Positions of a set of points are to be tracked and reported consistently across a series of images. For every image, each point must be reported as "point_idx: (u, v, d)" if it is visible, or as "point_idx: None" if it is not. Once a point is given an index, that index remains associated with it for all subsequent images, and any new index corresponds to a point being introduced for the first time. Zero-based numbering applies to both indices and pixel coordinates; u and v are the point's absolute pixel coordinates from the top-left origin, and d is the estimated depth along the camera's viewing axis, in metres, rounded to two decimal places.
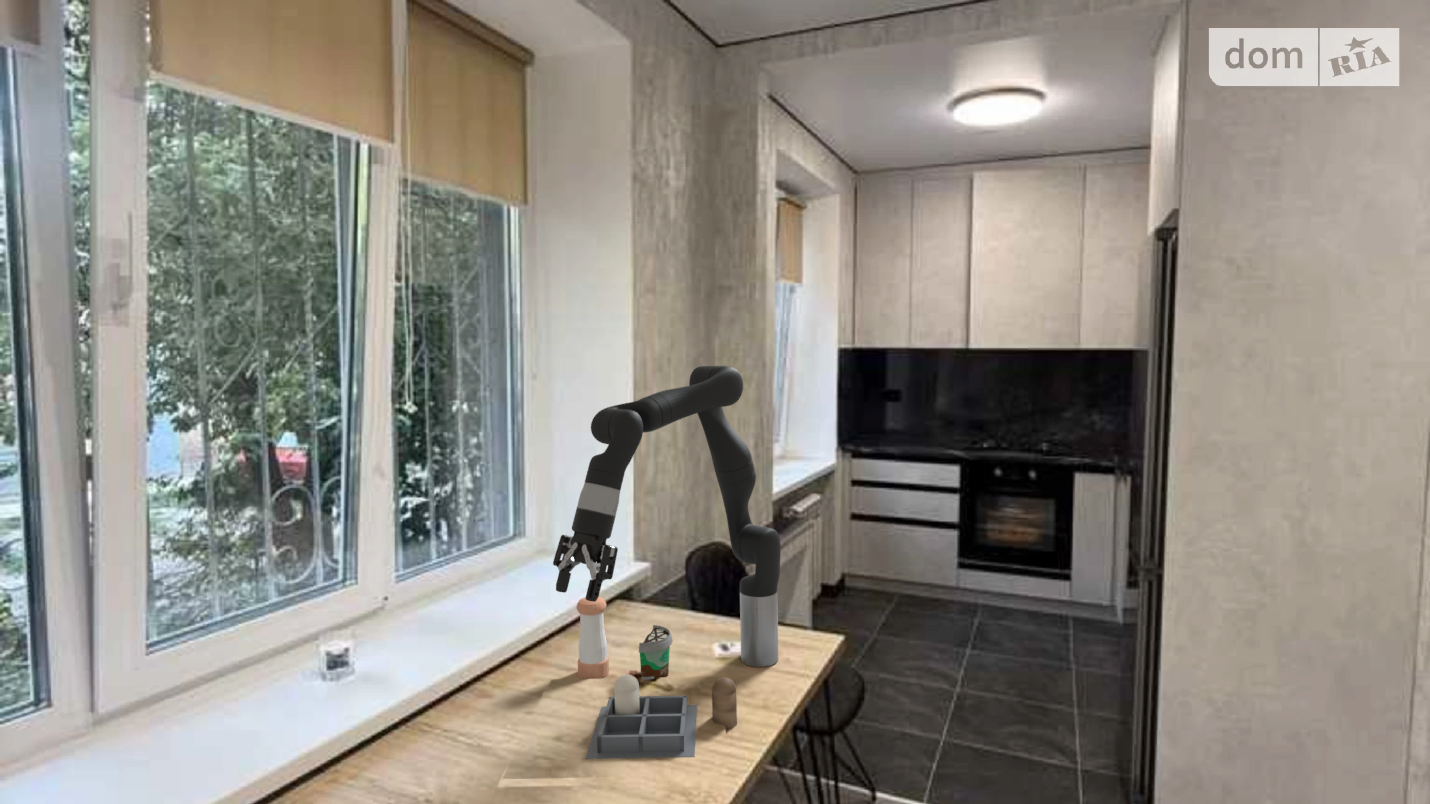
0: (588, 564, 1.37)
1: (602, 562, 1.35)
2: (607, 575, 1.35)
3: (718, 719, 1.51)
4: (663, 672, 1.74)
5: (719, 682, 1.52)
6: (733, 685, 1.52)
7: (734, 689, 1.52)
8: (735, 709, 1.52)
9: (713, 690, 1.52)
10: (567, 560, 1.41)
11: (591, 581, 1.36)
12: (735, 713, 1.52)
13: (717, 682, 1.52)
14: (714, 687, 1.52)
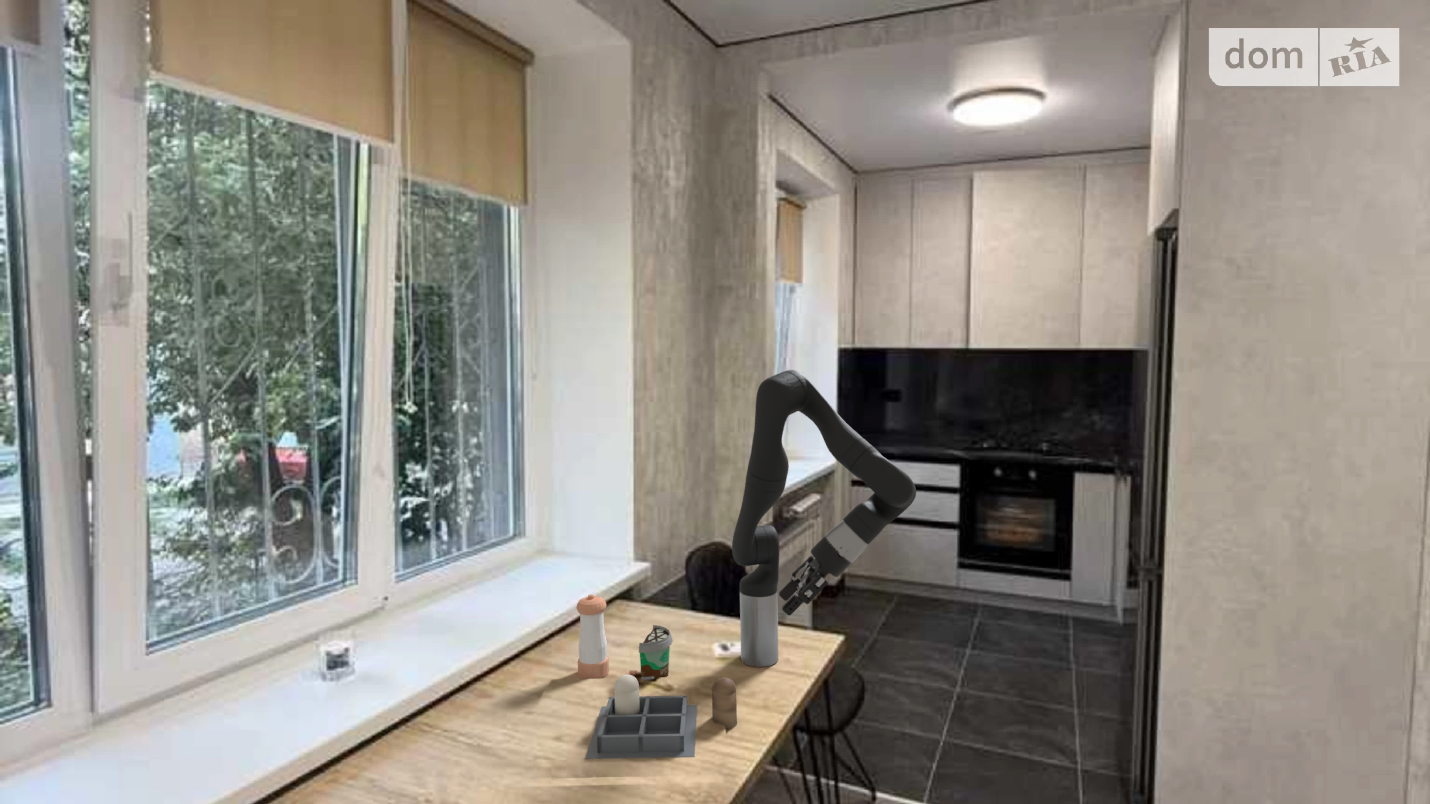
0: None
1: None
2: None
3: (718, 719, 1.51)
4: (663, 672, 1.74)
5: (719, 682, 1.52)
6: (733, 685, 1.52)
7: (734, 689, 1.52)
8: (735, 709, 1.52)
9: (713, 690, 1.52)
10: None
11: None
12: (735, 713, 1.52)
13: (717, 682, 1.52)
14: (714, 687, 1.52)
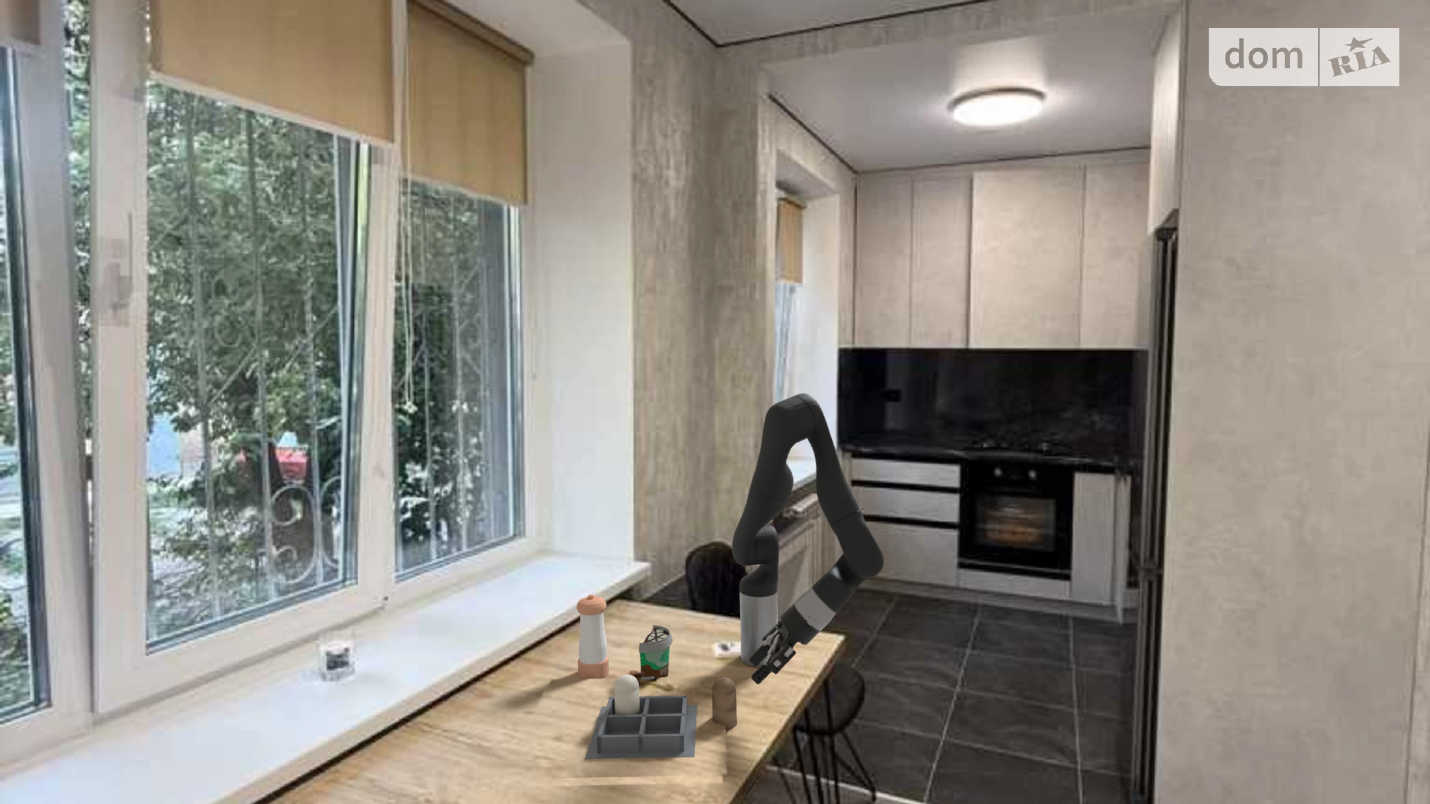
0: None
1: None
2: None
3: (718, 719, 1.51)
4: (663, 672, 1.74)
5: (719, 682, 1.52)
6: (733, 685, 1.52)
7: (734, 689, 1.52)
8: (735, 709, 1.52)
9: (713, 690, 1.52)
10: None
11: (767, 654, 1.57)
12: (735, 713, 1.52)
13: (717, 682, 1.52)
14: (714, 687, 1.52)
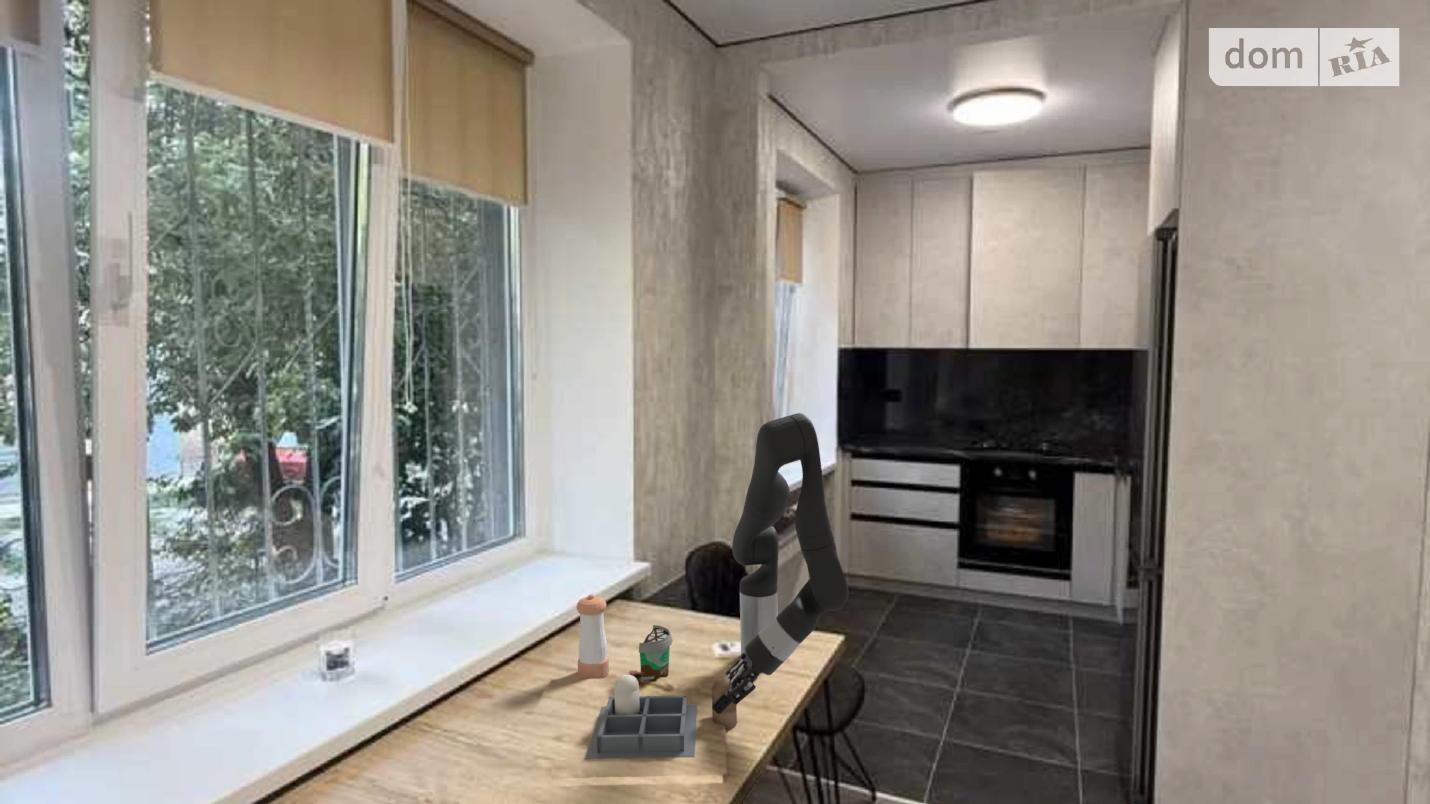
0: None
1: None
2: None
3: (718, 719, 1.51)
4: (663, 672, 1.74)
5: (718, 682, 1.52)
6: None
7: None
8: (735, 709, 1.52)
9: (713, 690, 1.52)
10: None
11: None
12: (735, 713, 1.52)
13: (717, 681, 1.52)
14: (714, 687, 1.52)
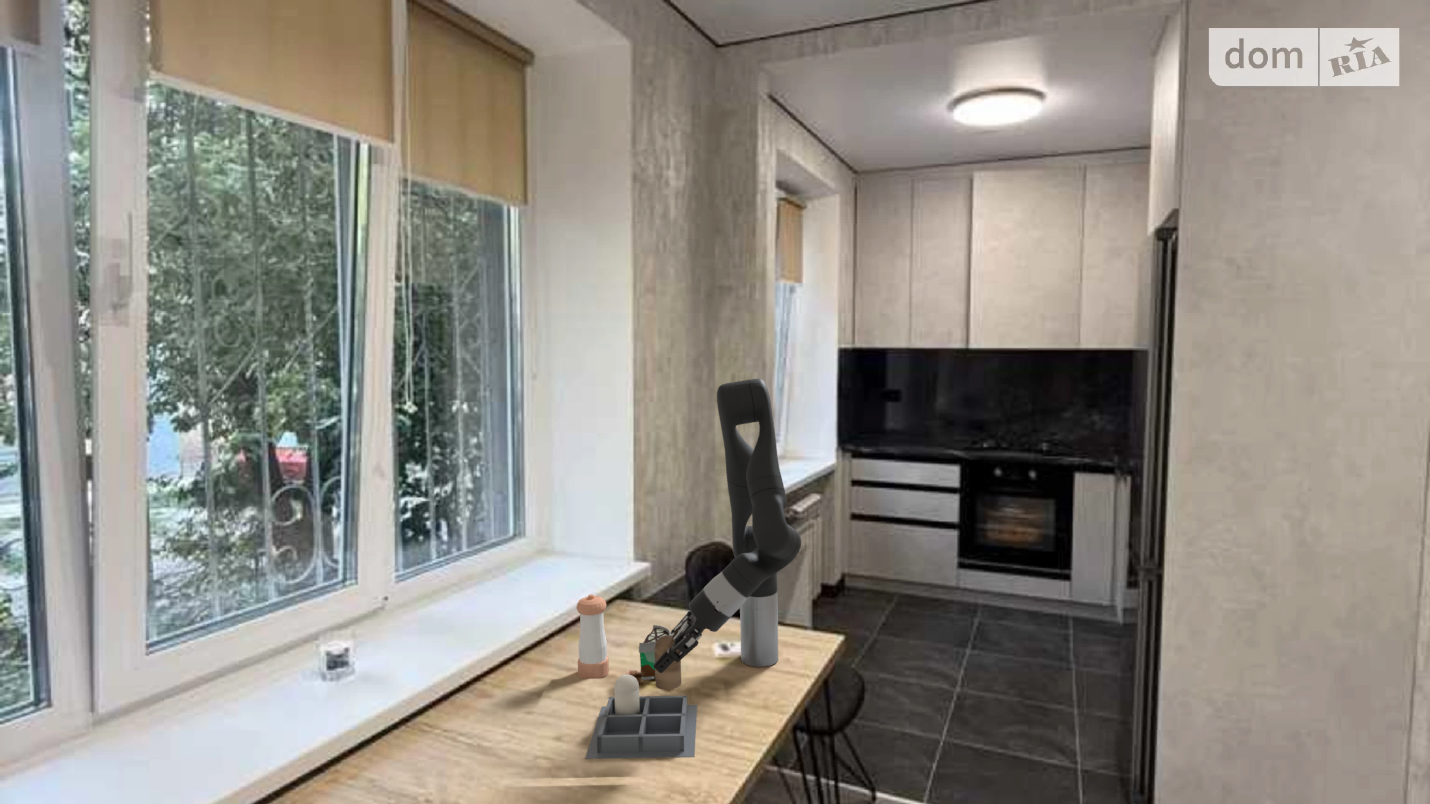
0: None
1: None
2: None
3: (660, 679, 1.43)
4: None
5: (661, 640, 1.43)
6: None
7: None
8: (679, 668, 1.44)
9: (655, 648, 1.43)
10: None
11: None
12: (679, 673, 1.44)
13: (660, 639, 1.44)
14: (656, 645, 1.43)
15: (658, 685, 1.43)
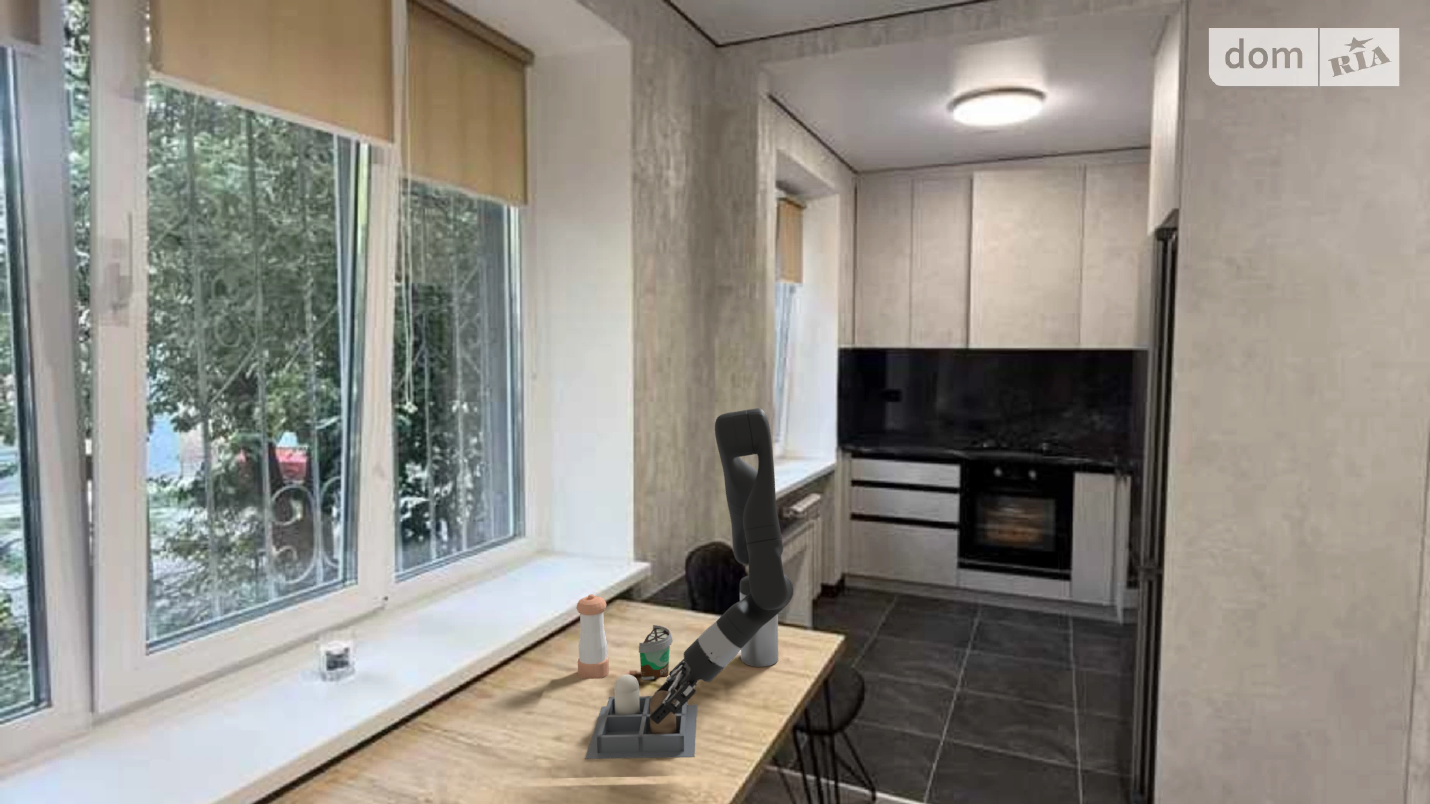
0: None
1: None
2: None
3: None
4: (663, 672, 1.74)
5: (656, 696, 1.44)
6: None
7: (673, 703, 1.44)
8: (674, 724, 1.45)
9: (651, 704, 1.44)
10: None
11: None
12: (674, 728, 1.45)
13: (655, 695, 1.45)
14: (652, 701, 1.44)
15: None
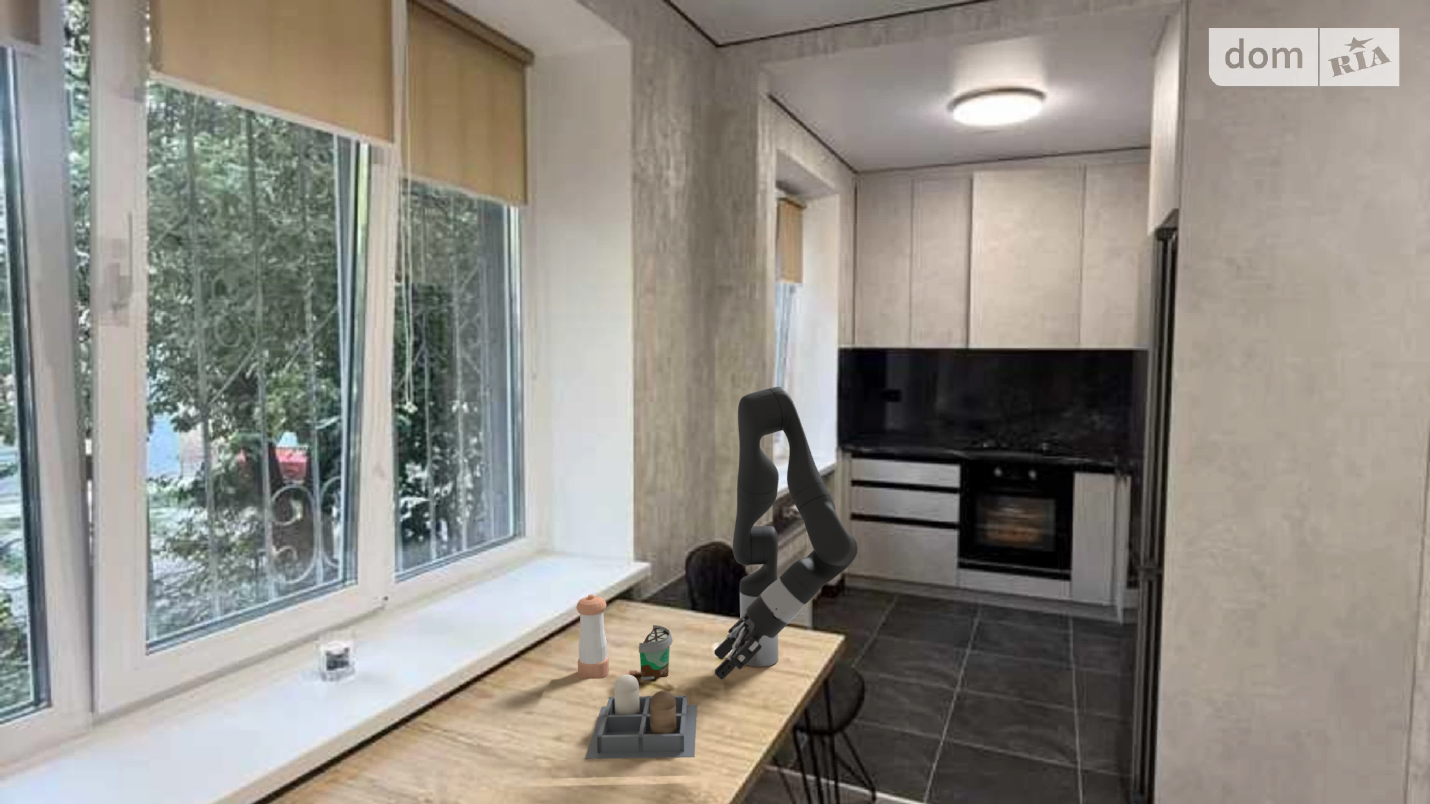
0: None
1: None
2: None
3: None
4: (663, 672, 1.74)
5: (657, 696, 1.44)
6: (671, 699, 1.44)
7: (673, 703, 1.44)
8: (674, 724, 1.45)
9: (651, 704, 1.44)
10: None
11: None
12: (674, 729, 1.45)
13: (656, 695, 1.44)
14: (652, 701, 1.44)
15: None
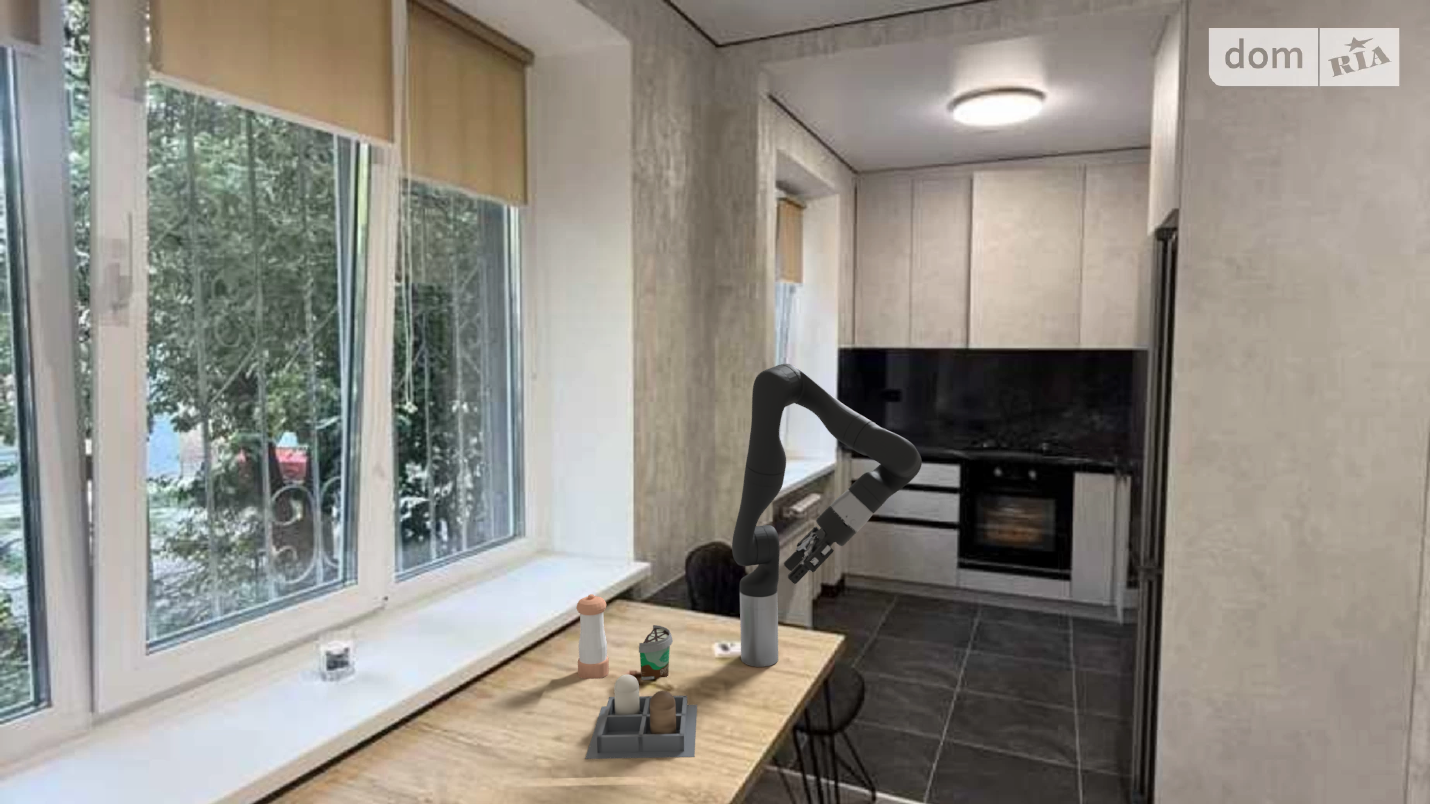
0: None
1: None
2: None
3: None
4: (663, 672, 1.74)
5: (656, 696, 1.44)
6: (671, 699, 1.44)
7: (673, 703, 1.44)
8: (674, 724, 1.45)
9: (650, 704, 1.44)
10: None
11: (801, 559, 1.57)
12: (674, 728, 1.45)
13: (655, 695, 1.44)
14: (651, 701, 1.44)
15: None
